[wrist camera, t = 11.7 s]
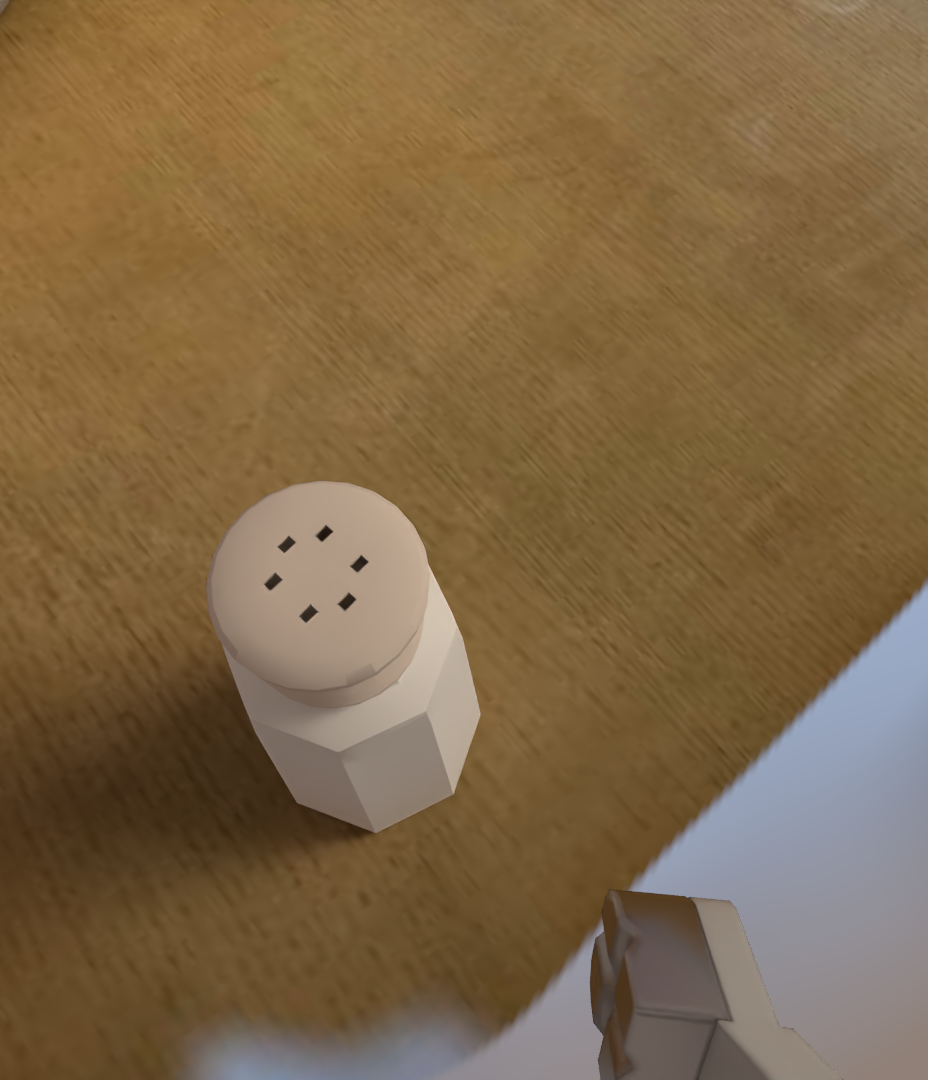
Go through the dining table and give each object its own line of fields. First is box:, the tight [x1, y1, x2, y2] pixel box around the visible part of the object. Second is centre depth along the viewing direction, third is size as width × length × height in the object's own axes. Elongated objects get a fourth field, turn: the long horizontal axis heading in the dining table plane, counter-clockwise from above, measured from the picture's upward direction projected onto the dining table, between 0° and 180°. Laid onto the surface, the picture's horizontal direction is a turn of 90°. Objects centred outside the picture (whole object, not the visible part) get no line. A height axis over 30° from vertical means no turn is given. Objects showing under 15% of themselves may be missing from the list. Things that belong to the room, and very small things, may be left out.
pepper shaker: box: [206, 481, 481, 833], centre depth 14 cm, size 5×5×11 cm
